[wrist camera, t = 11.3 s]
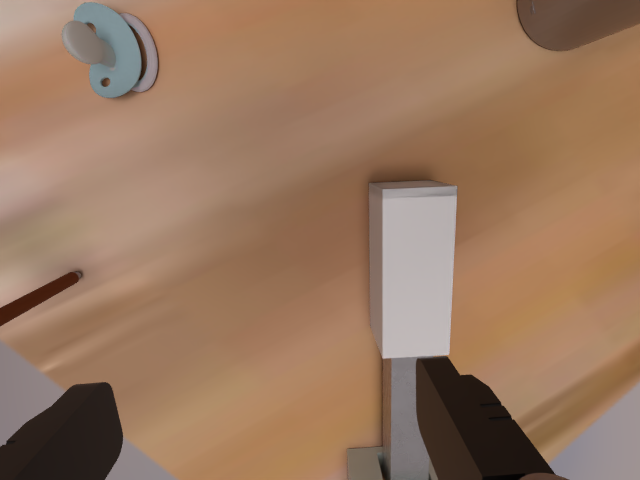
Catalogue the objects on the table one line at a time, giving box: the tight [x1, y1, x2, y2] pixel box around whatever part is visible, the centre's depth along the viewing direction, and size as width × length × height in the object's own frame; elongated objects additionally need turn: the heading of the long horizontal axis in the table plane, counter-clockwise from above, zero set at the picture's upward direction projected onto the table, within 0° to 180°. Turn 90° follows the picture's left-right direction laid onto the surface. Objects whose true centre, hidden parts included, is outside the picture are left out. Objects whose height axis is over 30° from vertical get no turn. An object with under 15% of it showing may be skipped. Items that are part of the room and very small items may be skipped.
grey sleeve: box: [369, 180, 457, 359], centre depth 35 cm, size 6×16×7 cm, turn 2°
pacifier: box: [62, 2, 158, 98], centre depth 30 cm, size 7×6×6 cm
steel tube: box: [382, 356, 433, 480], centre depth 38 cm, size 4×26×4 cm, turn 2°
